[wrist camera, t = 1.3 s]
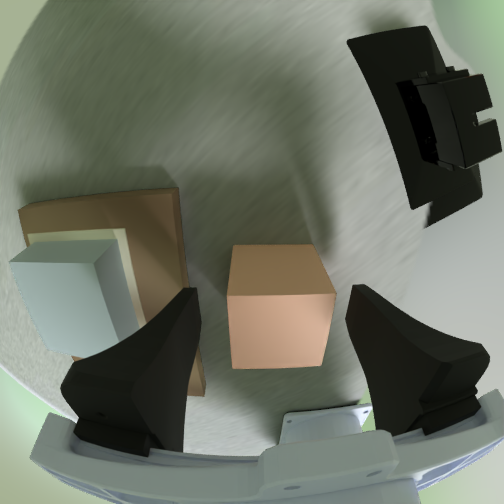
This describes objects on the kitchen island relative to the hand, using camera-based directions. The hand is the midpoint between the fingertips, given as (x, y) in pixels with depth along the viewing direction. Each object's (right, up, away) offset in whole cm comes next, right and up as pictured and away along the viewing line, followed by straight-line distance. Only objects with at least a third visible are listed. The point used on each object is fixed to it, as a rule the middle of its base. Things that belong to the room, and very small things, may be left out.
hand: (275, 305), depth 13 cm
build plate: (+8, +10, -1) cm, 13 cm away
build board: (-9, -1, +3) cm, 10 cm away
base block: (-10, 0, +1) cm, 11 cm away
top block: (0, +1, +2) cm, 3 cm away
